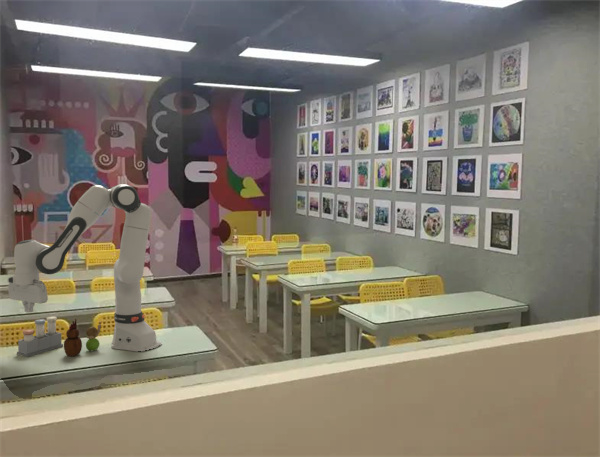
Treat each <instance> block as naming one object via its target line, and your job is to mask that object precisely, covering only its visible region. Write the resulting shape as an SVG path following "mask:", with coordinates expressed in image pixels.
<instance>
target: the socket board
mask: <svg viewBox="0 0 600 457" xmlns="http://www.w3.org/2000/svg"><path fill="white" fill-rule="evenodd" d="M17 343H18V344H17V345H18V346H17V347H18V351H16V355H17V354H19V355H18V356H21V355H22V356H21V357H25V356H26V357H25V358H29V356H30V357H33V356H36V355H40V354H43V353H46V352H47V353H48V352H50V351H52V350H56V349H60V348H62V347H63V348H64V343H62V332H58V331H56V334H54V335H48V332H45V337H43V338H40V339H39V338H36V335H33V340H32V341H29V342H25V341H24V338H23V339H18V342H17Z"/></svg>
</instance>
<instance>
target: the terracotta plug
mask: <svg viewBox="0 0 600 457" xmlns="http://www.w3.org/2000/svg"><path fill="white" fill-rule="evenodd" d="M34 333H35V332H34V329H24V330H22V335H23V339H24V341H25V342H29V341H32V340H33V336H34V335H33V334H34Z"/></svg>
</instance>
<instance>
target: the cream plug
mask: <svg viewBox="0 0 600 457" xmlns="http://www.w3.org/2000/svg"><path fill="white" fill-rule="evenodd" d="M57 319H58V318H57V316H47V317H46V319H45V322H47V333H48V335H54V334H56V332H57V330H56V328H57V326H56V325H57Z"/></svg>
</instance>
